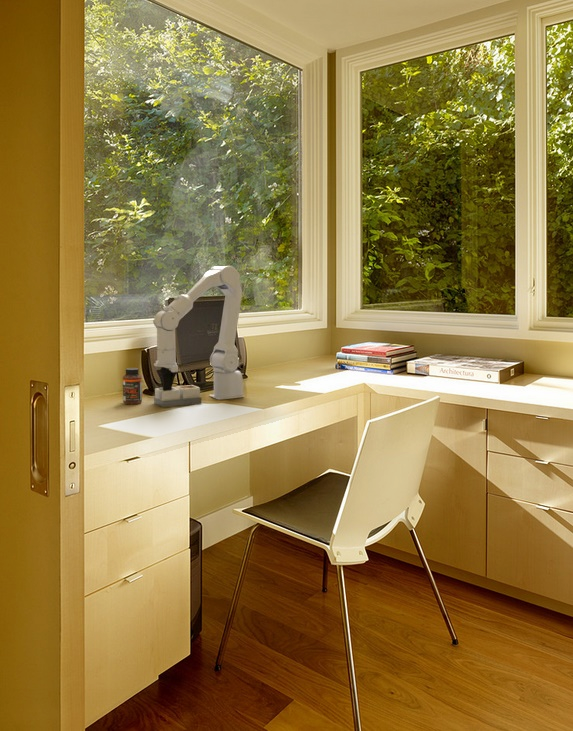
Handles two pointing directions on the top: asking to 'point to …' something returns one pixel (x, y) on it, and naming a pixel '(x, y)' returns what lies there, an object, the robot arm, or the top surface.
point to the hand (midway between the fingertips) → (167, 391)
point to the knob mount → (177, 396)
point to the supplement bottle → (132, 387)
